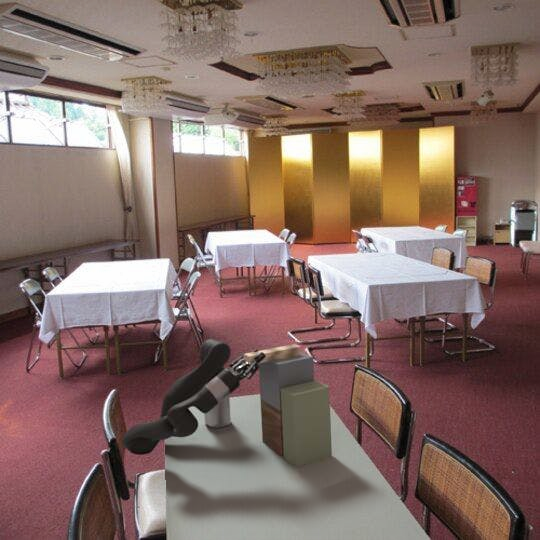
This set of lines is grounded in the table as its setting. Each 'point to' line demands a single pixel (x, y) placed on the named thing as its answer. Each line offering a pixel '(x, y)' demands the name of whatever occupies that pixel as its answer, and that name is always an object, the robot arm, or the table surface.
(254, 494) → the table surface
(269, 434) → the walnut crate
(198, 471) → the table surface
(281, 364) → the block
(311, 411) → the olive box
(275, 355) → the birch slat
